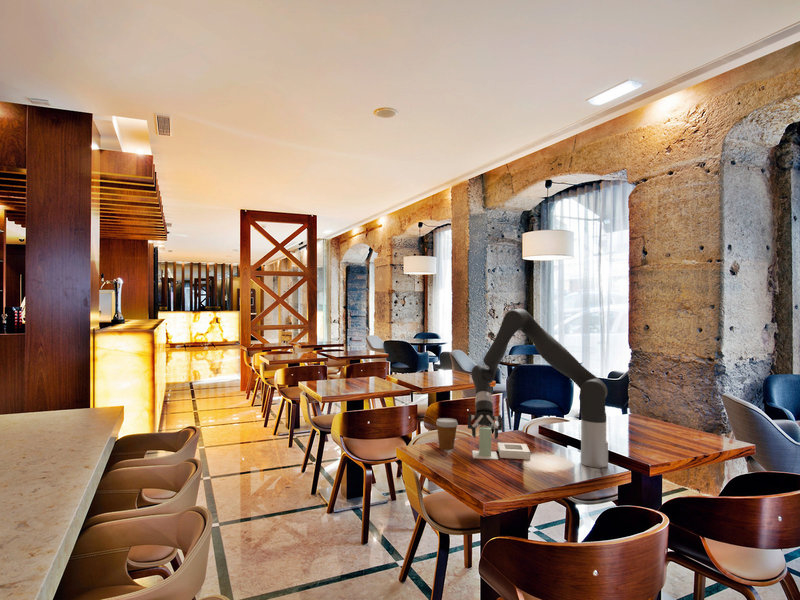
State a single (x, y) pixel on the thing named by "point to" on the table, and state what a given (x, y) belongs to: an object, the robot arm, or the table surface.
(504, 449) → the pocket holder
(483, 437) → the sage block
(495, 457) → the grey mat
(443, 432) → the disposable coffee cup
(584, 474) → the table surface
